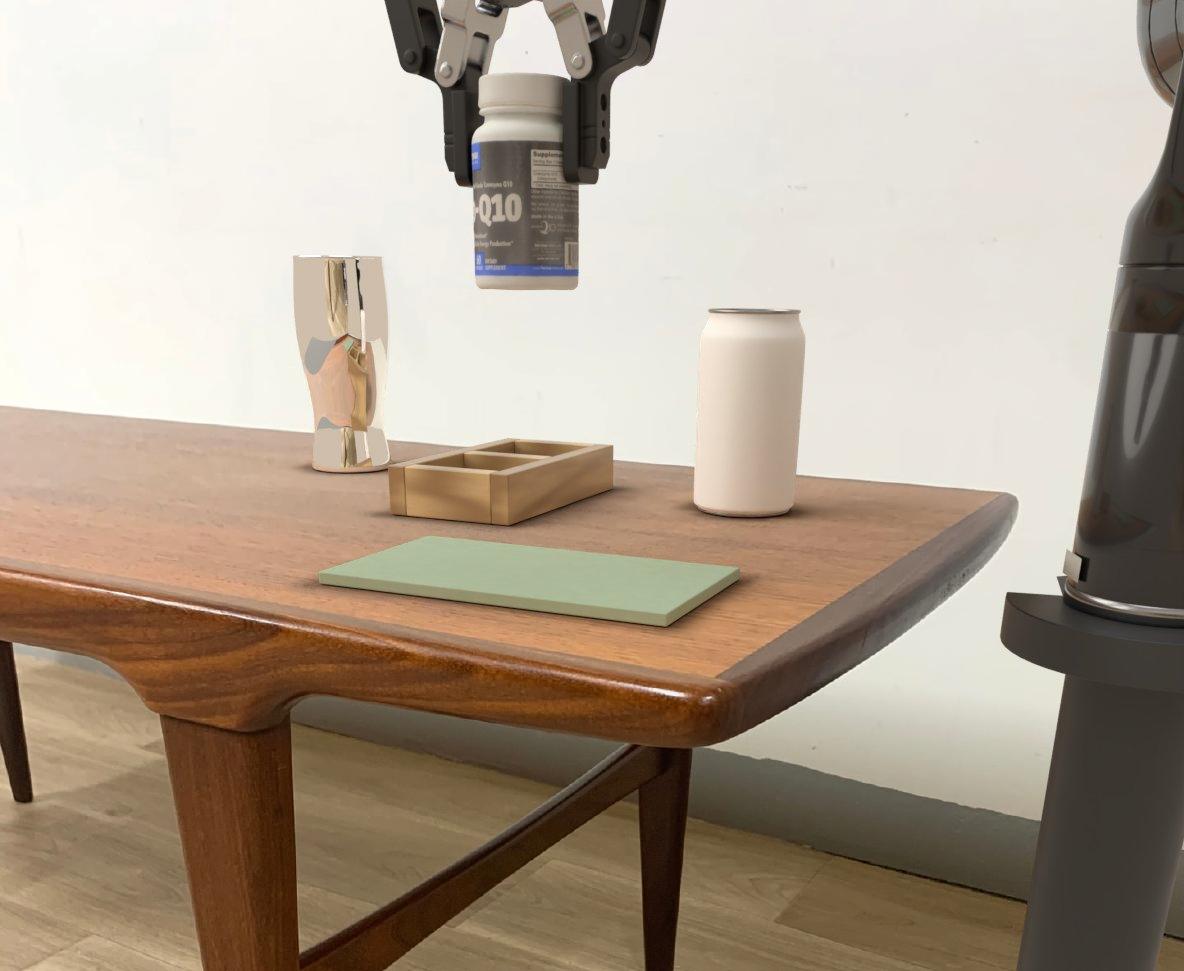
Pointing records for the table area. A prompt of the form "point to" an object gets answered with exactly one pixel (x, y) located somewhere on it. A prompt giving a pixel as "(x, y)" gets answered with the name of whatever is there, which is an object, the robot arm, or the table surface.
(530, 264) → the pill bottle
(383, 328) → the beer glass
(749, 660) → the table surface
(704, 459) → the can
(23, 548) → the table surface
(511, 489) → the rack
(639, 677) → the table surface
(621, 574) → the mat
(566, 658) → the table surface
